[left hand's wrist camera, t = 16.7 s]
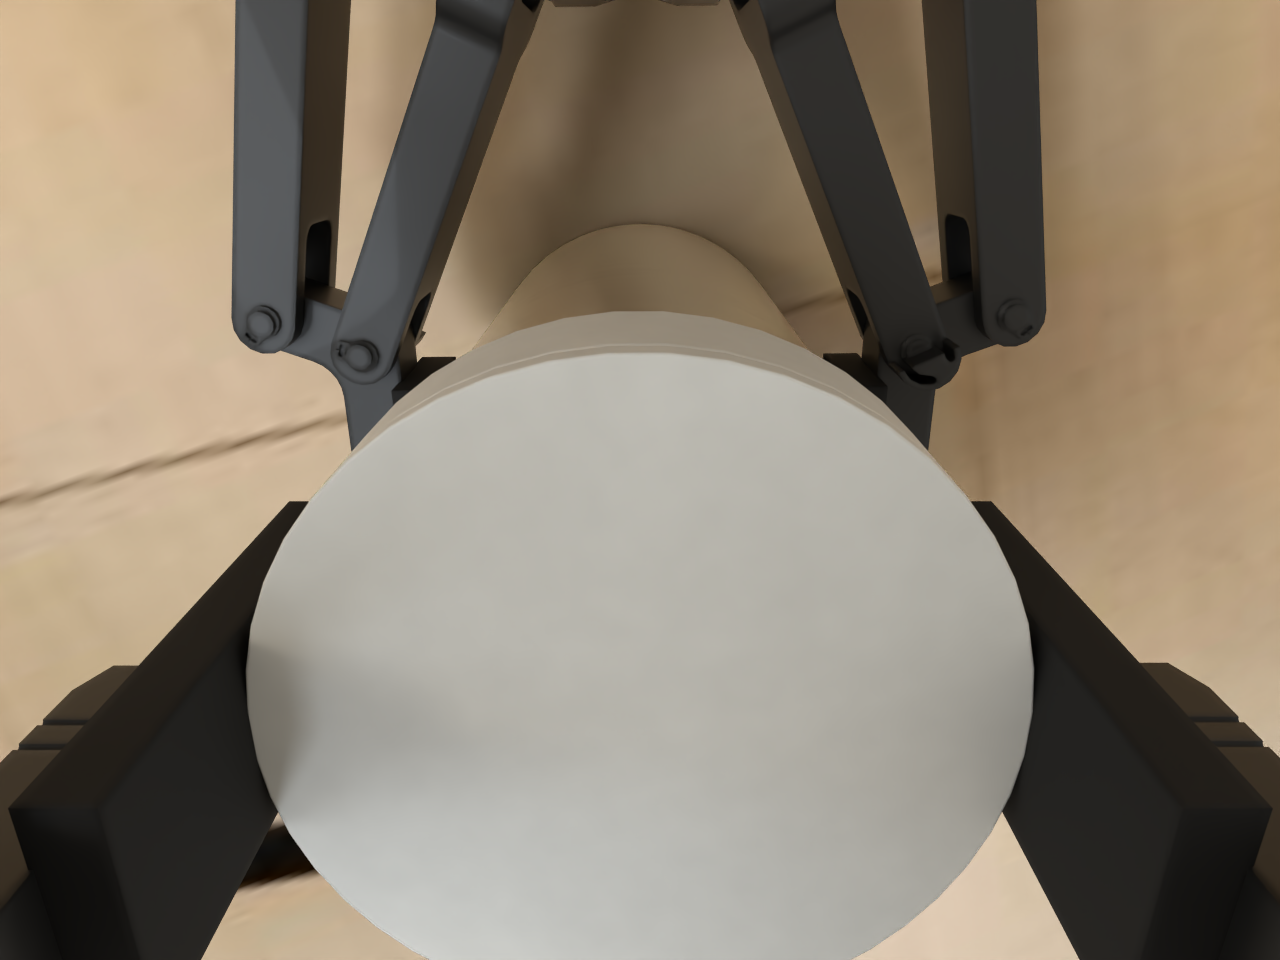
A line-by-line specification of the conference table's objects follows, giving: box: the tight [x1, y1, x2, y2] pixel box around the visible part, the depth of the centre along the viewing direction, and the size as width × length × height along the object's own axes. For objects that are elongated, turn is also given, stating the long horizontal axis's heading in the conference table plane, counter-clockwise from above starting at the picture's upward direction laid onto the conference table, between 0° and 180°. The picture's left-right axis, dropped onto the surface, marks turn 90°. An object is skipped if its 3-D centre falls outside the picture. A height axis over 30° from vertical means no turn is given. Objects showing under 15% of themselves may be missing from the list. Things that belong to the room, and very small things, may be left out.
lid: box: [246, 311, 1034, 960], centre depth 12 cm, size 9×9×2 cm
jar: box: [472, 224, 809, 351], centre depth 18 cm, size 8×8×15 cm
